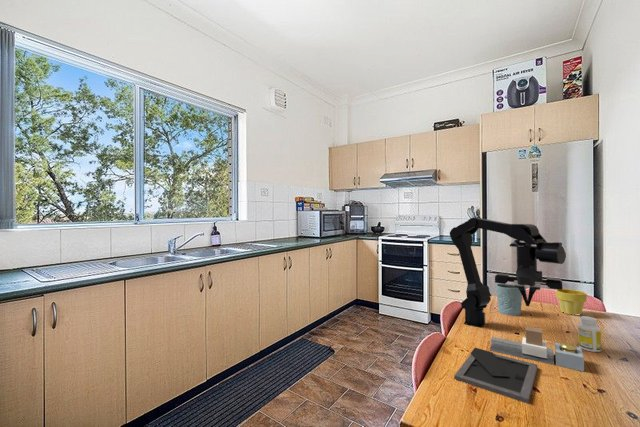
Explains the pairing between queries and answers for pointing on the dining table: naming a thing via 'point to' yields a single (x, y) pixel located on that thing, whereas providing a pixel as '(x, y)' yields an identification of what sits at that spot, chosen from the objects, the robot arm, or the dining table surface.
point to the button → (568, 347)
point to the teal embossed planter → (509, 299)
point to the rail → (550, 361)
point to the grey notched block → (569, 358)
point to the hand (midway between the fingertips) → (527, 305)
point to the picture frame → (498, 374)
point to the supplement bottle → (589, 334)
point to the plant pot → (571, 300)
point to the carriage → (534, 343)
